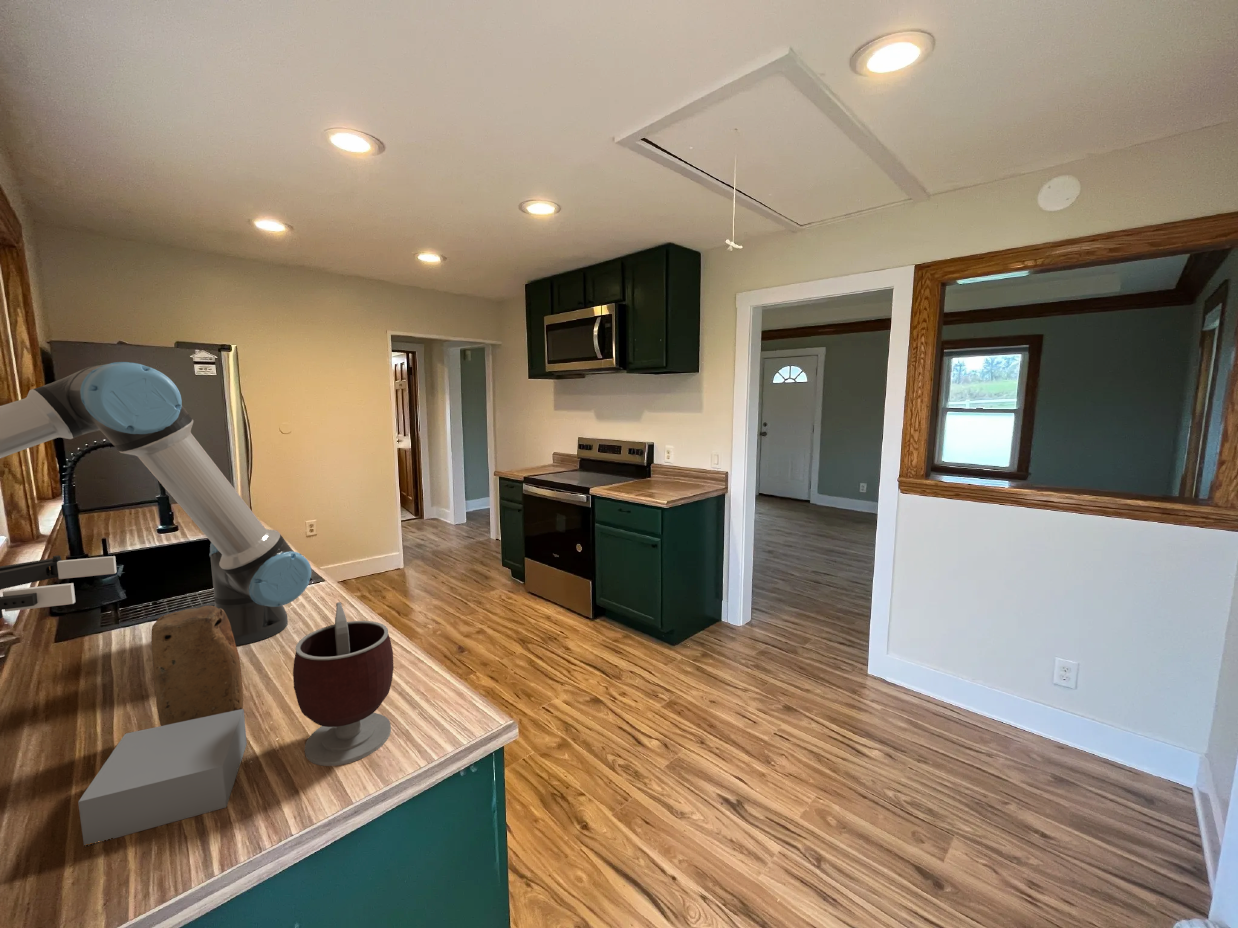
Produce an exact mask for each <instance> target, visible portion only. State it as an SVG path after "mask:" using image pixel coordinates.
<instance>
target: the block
mask: <svg viewBox="0 0 1238 928" xmlns="http://www.w3.org/2000/svg"><path fill="white" fill-rule="evenodd" d="M150 639H151V642H150V643H151V655H152V668H153V680H154V681H153V682H154V688H155V689H154V692H155V693H154V694H155V700H156V709H157V715H158V721H159V724H160V726H164V725H169V724H173V723H178V722H183V721H188V720H192V719H197V718H202V717H207V716H211V715H216V714H221V713H226V712H230V711H235V710H240V709H244V687H243V686H244V685H243V676H242V668H241V660H240V654H239V652H238V647H237V645H236V644H235V641H234V636H233V633H232V630H231V625H230V622H229V620H228V618H227V615H226V613H225V611H224V610H223V609H221V608H219V609H218V608H217V607H215V605H203V606H200V607H197V608H196V607H194V608H186V609H182V610H179V611H175V612H172V613H171V612H170V613H168V614H165V615H161V616H160V617H158V618H157V619H156V621H155V622H154V623H153V625H152V627H151V638H150Z"/></svg>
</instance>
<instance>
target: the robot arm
mask: <svg viewBox="0 0 1238 928" xmlns="http://www.w3.org/2000/svg"><path fill="white" fill-rule="evenodd" d="M182 404H183V403H182V395H181V392H180V391H179V388H178V387H177V385H176V384H175V383H174V381H172V379H171V378H170V377H168V376H167V375H166V374H164V372H161V371H159V370H157V369H155V368H153V367H150V366H148V365H147V366H146V365H144V364H141V363H137V362H128V361H117V362H116V361H115V362H111V363H106V364H95V365H92V366H88V367H85V368H83V369H81V370H78V371H76V372H74V373H72V374H70V375H68V376H67V375H66V377H63V378H61V379H58V380H56V381H53V382H50V383H47V384H45V385H42V386H39V387H36V388H31V389H29V391H28V393H27V395H26V397H25V398H22V399H19V400H15V401H12V402H9V403H6V404H2V405H0V459H3V458H5V457H7V456H10V455H13V454H16V453H18V452H22V451H23V450H28V449H30V448H33V447H35V446H38V445H40V444H44V443H46V442H49V441H51V440H55V439H57V438H58V439H59V438H62V439H68V440H72V439H75V438H77V437H80V436H83V435H86V434H89V433H93V432H97V431H100V432H101V433H102V434H103V435H104V436H105V438H107V440H109V442H110V443H111V444H112V445H113V447H114V448H115V449H116V450H117V451H118V452H119V453H120V454H125V455H131V456H136V457H137V458H138V459H139V460H140V461H141V462H142V464H143V465H144V466H145V467H146V468H147V469H148V470H149V472H150V474H152V475H153V476H154V477H155V479H156V480H157V481H158V482H159V484H161V486H162V487H163V488H164V489H165V490H166V492H167V493H168V494H169V495H170V496H171V497H172V498H173V500H174V501H175V502H176V503H177V504H178V505H179V506H180V508H182V510H183V511H184V512H185V514H187V516H188V517H189V518H190V520H191V521H192V522H193V523H194V524H195V525H196V526H197V527H198V529H199V530H200V531H201V532H202V533H203V535H205V537H206V538H207V540H209V541H210V545H209V546H210V547H209V555H208V556H209V558H210V565H211V567H210V568H211V576H212V586H213V597H214V598H213V599H214V606H215V607H217V608H218V609H219V608H221V609H223V610H224V611H225V613H226V615H227V618H228V620H229V622H230V625H231V630H232V633H233V636H234V641H235V644H236V646H238V645H239V646H240V645H241V646H242V645H245V644H250V643H254V642H259V641H262V640H265V639H268V638H270V637H273V636H274V635H277V634H278V633H280V632H282V631H283V630H285V629H286V627H287V626H288V625H289V624H288V623H289V621H288V620H289V619H288V613H287V611H286V609H285V607H284V606H286V605H288V604H290V603H292V602H294V601H295V600H297V599H298V598H299V597H300V596H301V595H303V593H304V592H305V590H306V589H307V587H308V586H309V584H310V580H311V577H312V567H311V564H310V561H308V559H307V558H306V557H305V556H304V555H302V554H301V553H299V552H297V551H294V550H293V548H292V547H291V546H290V545H289V543H288V542H287V541H286V539H285V538H284V537H283V535H282V534H281V533H280V532H279V531H278V530H275V529H267V528H266V527H265V526H264V525H263V524H262V522H261V521H260V519H258V517H257V516H256V515H255V513H254V512H253V511H252V509H251V508H250V507H249V506H248V504H247V503H246V502H245V500H244V499H243V498H242V497H241V495H240V494H239V493H238V491H237V489H235V487H234V486H233V485H232V484H231V482H230V481H229V480H228V479H227V478H226V476H225V475H224V474H223V472H222V471H221V470H220V468H219V467H218V465H217V464H216V463H215V462H214V460H213V459H212V458H211V457H210V455H209V453H207V452H206V451H205V449H204V448H203V447H202V445H201V444H200V443H199V441H198V440H197V439H196V438H195V436H194V435H193V434H192V428H193V424H194V419H193V418H192V417H191V415H190V413H188V411H187V410H186V408H185V407H184V406H183V405H182ZM116 560H117V559H116V556H115V555H113V556H112V555H111V556H100V557H98V556H97V557H90V558H88V557H86V558H77V559H65V560H62V557H61V555H53V556H52V557H51V558H45V559H40V560H39V559H38V560H34V561H27V562H21V563H14V564H7V565H1V566H0V591H1V590H3V591H2V596H0V619H2V618H3V610H4V612H5V613H7V612H14V611H22V610H23V611H24V610H31V609H32V610H33V609H38V608H39V609H40V608H48V607H56V606H66V605H74V604H75V603H76V595H75V586H74V582H71V583H69V582H68V583H61V584H59V583H58V584H52V585H41V586H32V587H21V588H14V589H13V587H19V586H23V585H27V584H31V583H37V582H42V581H47V580H50V579H51V580H52V579H55V578H56V579H57V578H58V580H64V579H73V578H85V577H93V576H94V577H95V576H104V575H114V574H116V573H117V570H118V569H117V562H116ZM9 588H11V589H9Z"/></svg>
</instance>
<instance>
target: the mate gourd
mask: <svg viewBox="0 0 1238 928" xmlns="http://www.w3.org/2000/svg"><path fill="white" fill-rule="evenodd" d="M335 605H336V609H335V610H336V611H335V618H334V624H330V625H327V626H324V627H321V628H319V629H316V630H314V631H312V632H310V633H308V634H306V635H305V636H303V637H302V638H301V639H299V640H298V642H297V643H296V645H295V656H294V660H293V667H292V668H293V670H292V676H293V677H292V679H293V689H294V690H293V691H294V693H295V697H296V702H297V705H298V707H299V709H300V712H301V713H302V714H303V716H305V717H306V718H307V719H309V720H310V721H312V722H313V723H315V724H316V725H318V726H320V727H318V728H317V729H316V730H314V732H312V733H311V735H310V736H309V737H308V738H307V740H306V742H305V744H304V754H305V757H306V759H307V760H308V761H309V762H311V763H312V764H315V765H317V766H323V767H334V766H335V767H337V766H344V765H348V764H350V763H354V762H357V761H359V760H362V759H363V758H366V757H368V756H370V755H372V754H373V753H375V752H376V751H378V750H379V749H381V747H382V746H384V744H385V743H386V742H387V741H388V739H389V737H390V735H391V732H392V727H391V724H392V723H391V722H390V719H389V718H388V717H386V716H385V715H383V714H382V713H377V712H376V711H377V710H378V709H379V708H380V706H381V705H382V703H383V702H384V701H385V699H386V698H387V696H388V695H389V694H390V690H391V687H392V682H393V676H394V668H395V667H394V651H393V645H392V642H391V637H390V635H389V629H388V627H387V626H386V625H385V624H383V623H380V622H377V621H372V620H353V621H348V620H347V616H346V613H345V610H344V607H343V606H342V602H341V601H339V602H337V603H336V604H335Z"/></svg>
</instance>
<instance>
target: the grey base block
mask: <svg viewBox="0 0 1238 928" xmlns="http://www.w3.org/2000/svg"><path fill="white" fill-rule="evenodd" d="M246 732H247V731H246V720H245V710H244V708H243V709H240V710H235V711H230V712H226V713H221V714H216V715H211V716H207V717H202V718H197V719H192V720H188V721H183V722H178V723H173V724H169V725H164V726H161V725H160V726H155V727H150V728H146V729H141V730H136V731H132V732H127V733H125V734H124V735H123V736H122V738H121V739H120V741H119V742H118V744H116V747H115V748H114V749H113V750H112V752H111V753H110V755H109V756H108V758H107V760H105V762H104V763H103V765H102V767H101V768H100V770H99V771H98V773H97V774H96V776H95V777H94V778H93V779H92V781H91V783H90V784H89V786H88V787H87V788H86V789H85V791H84V793H83V794H82V796H81V797H80V799H78V810H79V817H80V826H81V827H80V828H81V833H82V840H83V846H84V845H86V844H90V843H95V842H98V841H103V842H105V841H104V840H106V841H109V840H108V839H110V840H112V839H111V838H113V839H117V838H121V837H124V836H127V835H128V836H129V835H131V834H135V833H138V832H141V831H146V830H149V829H153V828H156V827H159V826H164V825H167V824H171V823H175V822H178V821H181V820H185V819H189V818H192V817H197V816H199V815H204V814H207V813H211V812H215V811H217V810H221V809H225V808H227V807H228V803H229V800H230V797H231V793H232V791H233V787H234V785H235V782H236V778H237V776H238V772H239V769H240V766H241V764H242V760H243V758H244V757H243V756H244V755H245V754H244V753H245V750H246V748H247V744H248V743H247V733H246ZM95 844H96V843H95Z"/></svg>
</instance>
